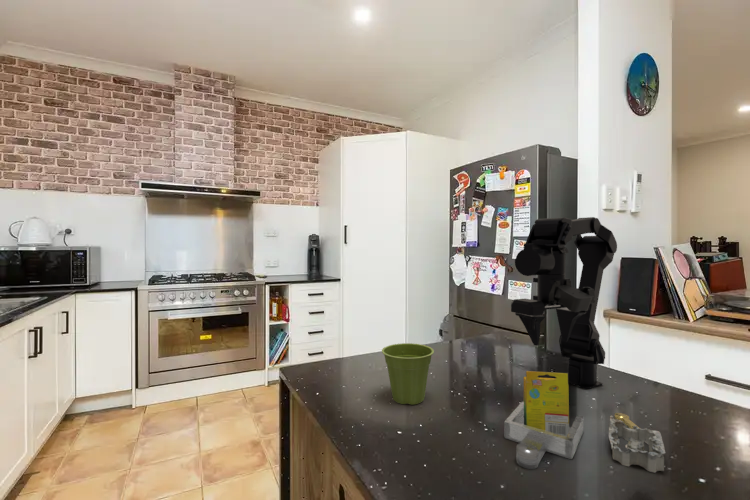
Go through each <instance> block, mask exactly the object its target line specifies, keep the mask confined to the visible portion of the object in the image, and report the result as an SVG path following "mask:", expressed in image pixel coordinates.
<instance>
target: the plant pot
mask: <svg viewBox="0 0 750 500" xmlns="http://www.w3.org/2000/svg"><path fill="white" fill-rule="evenodd" d="M381 353H382V354H383V355H384V360H385V363H386V368H387V372H388V378H389V384H390V389H391V390H390V391H391V395H392V400H393V401H394V402H396V403H398V404H400V405H406V404H409V405H411V406H412V405H417V404H420V403H422V402H424V400H425V398H426V397H425V396H426V390H427V381H428V377H429V376H428V374H429V370H430V369H429V368H430V364H431V360H432V356H433V355H434V353H435V349H434V348H432V347H430V346H428V345H424V344H420V343H412V342H411V343H410V342H409V343H408V342H406V343H404V342H403V343H394V344H389V345H387V346H384V347H383V348H382V349H381Z"/></svg>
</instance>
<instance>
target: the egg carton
mask: <svg viewBox="0 0 750 500" xmlns="http://www.w3.org/2000/svg"><path fill="white" fill-rule="evenodd" d="M637 426H638V425H637ZM637 426H634V427H633V429H631V428H629V427H626V424H625V423H624V422H623V421H621V420H617V419H615V417H614V415H612V414H611V415H610V416H609V426H608V439H609V442H610V448H611V450H612V451H611V452H612V456H611V457H612V459H613V460H614V461H617V462H618V463H620V464H621V465H622V466H625V467H630V466H632V465H635V466H636V465H637V466H640V467H642V468H644V469H645V470H646V471H647V472H649V473H650V472H651V473H655V474H656V473H657V472H659V471H661V472H665V456H664V455H665V454H666V450H665V449H666V448H665V444H664V441H663V437H662V434H661V432H660V431H658V430H652V429H648V428H647V427H645V428H641V427H639V426H638V427H639V428H638V427H637ZM620 438H622V439H624V440H625V441H627V444H625V445H624V447H625V449H626V451H623V450H622V449H621V439H620ZM645 443H646V444H647V446H648V451H647V450H646V448H645Z"/></svg>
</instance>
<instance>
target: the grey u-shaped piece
mask: <svg viewBox="0 0 750 500" xmlns="http://www.w3.org/2000/svg"><path fill="white" fill-rule="evenodd" d="M503 424H504V425H503V426H504V428H503V429H504V432H503V434H504V435H503V438H504V439H505V440H506V439H507V440H509V441H512V442H515V443H518V444H517V445H516V464H517V465H518V466H520V467H522V468H524V469H527V470H535V469H538V467H539V464H540V462H541V460H542V458H543V456H544V455H545V453H546V452H548V453H551V454H552V455H556V456H560V457H562V458H565V459H569V460H573V457H574V456H575V453H576V451H577V450H578V449H577V448H578V447H579V443H580V442H581V438H582V436H583V434H584V416H582V415H578V414H577V415H576V417H575V419H574V421H573V422H572V425H571V426H569V433H568V435H567V437H565V436H562V435H558V434H555V433H551V432H548V431H544V430H541V429H537V428H534V427H530V426H527V425H524V400H523V401H521V402H520V403H519V404H518V405H517V407H516V408H515V409H514V410H513V411H512V412H511V413H510V415H508V417H507V418H506V419H505V421H503Z"/></svg>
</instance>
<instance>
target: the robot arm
mask: <svg viewBox="0 0 750 500" xmlns="http://www.w3.org/2000/svg"><path fill="white" fill-rule="evenodd" d="M599 219H600V218H598V217H594V216H590V217H587V216H586V217H577V218H576V219H572V218H567V217H563V216H562V217H551V218H550V217H548V218H537V219H535V221H534V224H532V226H531V228H530V231H529V234H528V236H527V239H526V241H525V242H524V243H523V249H521V250H520V251H519V252H518V253H517V254H516V257H515V259H514V266H515V268H516V270H517V272H518V273H519V274H521V275H523V276H525V277H531V276H533V279H532V282H533V283H536V285H537V288H536V290H537V291H536V295H535V294H534V295H533V296H532V299H530V298H517V299H516V298H515V299H513V300H512V301H511V303H510V311H511V312H512V313H514V315H515V316H516V317H518V318H519V319H520V321H521V322H522V324H523V326H524V328H525V330H526V332H527V334H528V335H529V338H530V340H531V342H532V344H533V346H536V347H538V346H539V344H540V335H541V323H542V321H543V320H544V319H546V315H544V313H545V312H546V310H553V309H554V310H555V312H556V316H557V321H558V326H559V332H560V335H559V337H558V338H559V339H558V342H559V349H560V353H561V354H560V355H561V357H562V358H567V359H568V365H567V373H568V384H571V385H573V386H576V387H579V388H581V389H583V390H589V389H592V388H593V389H594V388H597V387H602V386H603V382H601V381H597V379H598V378H597V376H598V373H597V368H598V365H604V364H605V359H606V351H605V349H604V347H603V345H602V343H601V341H600V337H601V335H600V333H599V331H598V329H597V327H596V324H595V320H596V315H597V309H598V308H597V307H598V302H599V298H600V293H601V292H600V291H601V284H602V281H603V274H604V270H606V268H607V267H608V266H609V265H610V264H611V263H612V262H613V260H614V256H615V254H616V253H617V250H618V244H617V240H616V238H615V236H614V233H613V232H612V230H610V229H609V228H607V227H606V226H605V225H603V224H602V223H601V222H600V220H599ZM586 234H594V235H586ZM582 235H583V236H582ZM574 236H575V239H574V242H573V243H574V246H575V247H576V249H577V251H578V253H577V256H578V257H579V259H580V262H581V263H582V267H581V273H580V277H579V283H578V288H577V287H576V288H575V287H574V286H572V281H571V278H566V256H567V255H566V254H568V253H569V249H568V248H567V247H565V246H566V245H567V244H568V242H570V241H572V240H573V237H574ZM534 276H536V277H534Z"/></svg>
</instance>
